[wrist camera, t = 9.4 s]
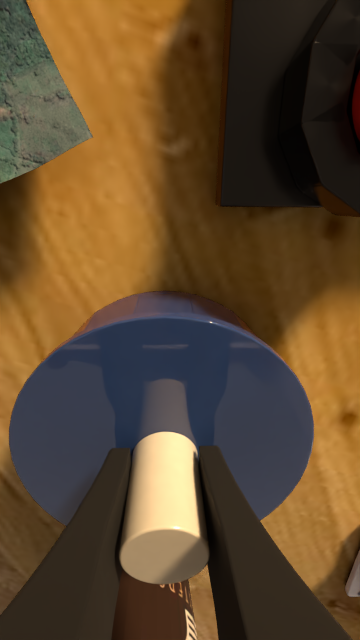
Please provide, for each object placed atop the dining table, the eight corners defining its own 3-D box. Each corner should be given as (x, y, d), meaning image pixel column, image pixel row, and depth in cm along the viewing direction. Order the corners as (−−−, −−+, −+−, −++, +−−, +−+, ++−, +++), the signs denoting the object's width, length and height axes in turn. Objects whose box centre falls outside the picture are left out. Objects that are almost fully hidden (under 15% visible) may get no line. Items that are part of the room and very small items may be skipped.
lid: (326, 303, 10) (439, 375, 6) (280, 520, 14) (328, 651, 10) (-8, 305, 9) (-142, 384, 5) (47, 529, 14) (-4, 670, 9)
